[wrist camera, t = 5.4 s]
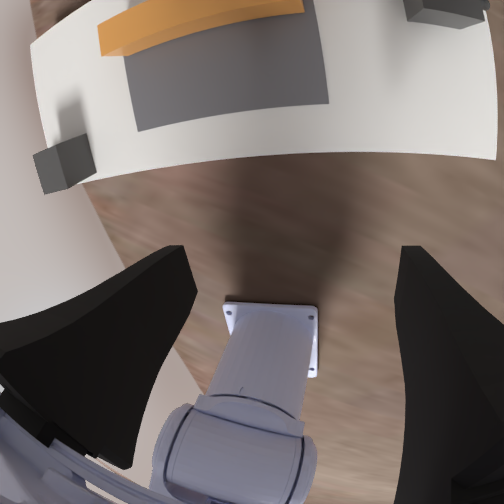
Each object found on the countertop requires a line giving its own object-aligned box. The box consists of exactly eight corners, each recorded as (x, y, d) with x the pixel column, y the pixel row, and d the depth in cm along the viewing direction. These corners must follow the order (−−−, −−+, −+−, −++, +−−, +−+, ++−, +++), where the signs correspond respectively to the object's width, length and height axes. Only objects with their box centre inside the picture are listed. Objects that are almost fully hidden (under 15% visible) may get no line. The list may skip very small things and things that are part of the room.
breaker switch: (304, 12, 10) (299, -1, 8) (128, 55, 13) (101, 56, 11) (298, -21, 9) (291, -38, 7) (124, 27, 12) (97, 25, 10)
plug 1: (86, 133, 17) (55, 144, 14) (97, 172, 18) (68, 188, 16) (51, 147, 18) (23, 159, 16) (61, 181, 20) (35, 197, 17)
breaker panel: (474, 147, 14) (496, 160, 11) (82, 175, 22) (58, 188, 20) (449, -38, 7) (466, -53, 5) (56, 42, 16) (29, 45, 13)
